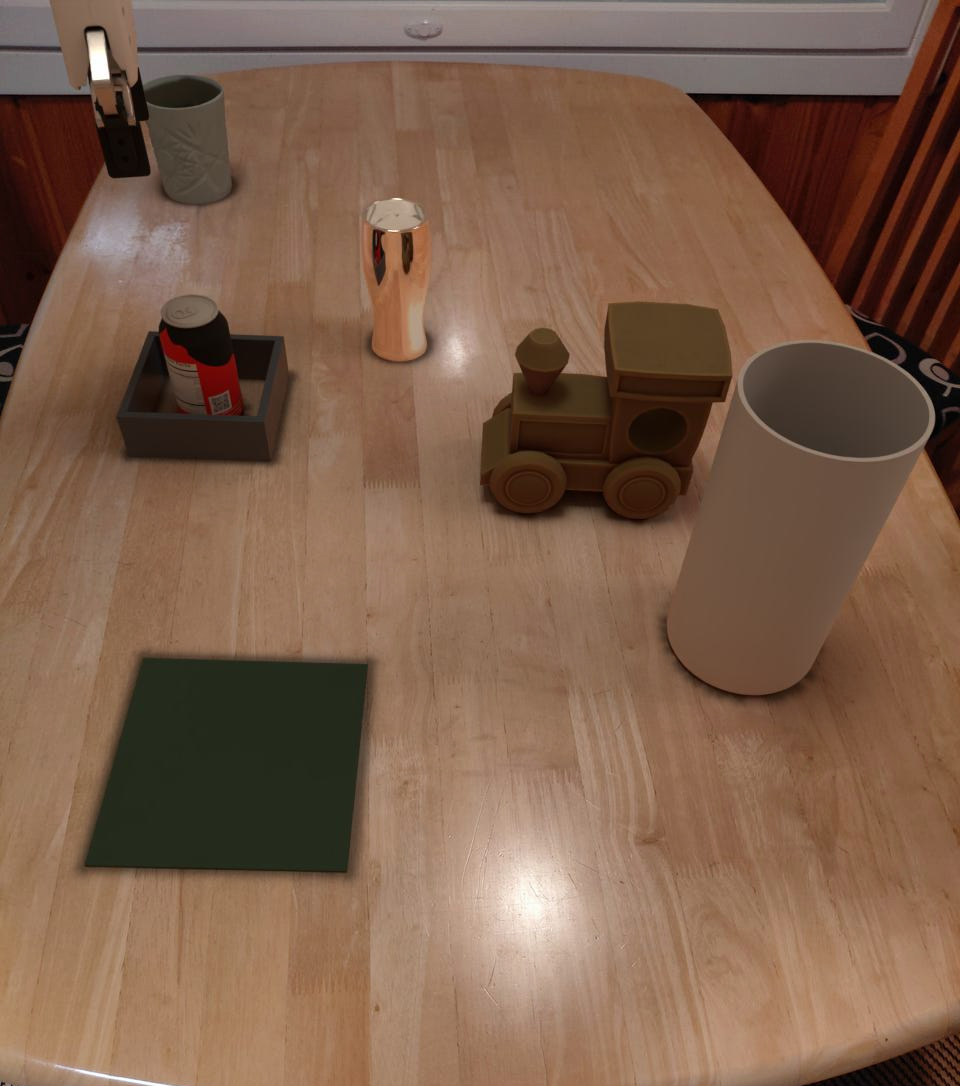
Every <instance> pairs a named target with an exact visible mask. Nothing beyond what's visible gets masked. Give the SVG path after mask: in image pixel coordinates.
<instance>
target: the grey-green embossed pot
mask: <svg viewBox="0 0 960 1086" xmlns="http://www.w3.org/2000/svg"><path fill="white" fill-rule="evenodd" d="M143 88H144V93H145V98H146V102H147V107H148V111H149V119H148V120H147V121H144V122H145V124H146V127H147V128H148V136H149V139H150V143H151V146H152V148H153V154H154V157H155V159H156V164H157V168H158V171H159V173H160V178H161V183H162V186H163V189H164V192H165V194H166V195H167V197H168V198H170V199H171V200H173V201H175V202H177V203H180V204H186V205H206V204H211V203H215V202H217V201H221V200H222V199H224V198H226V197H227V196H228V195H229V194H230V193H231V191H232V188H233V180H232V173H231V168H230V150H229V138H228V133H227V132H228V131H227V125H226V123H227V121H226V120H227V119H226V104H225V89H224V87H223V85H222V84H221V82H218V81H217V80H216V79H213V78H210V77H208V76H203V75H197V74H172V75H165V76H160V77H157V78H154V79H151V80H149V81H147V82H145V83H144V84H143Z"/></svg>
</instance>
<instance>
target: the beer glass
mask: <svg viewBox="0 0 960 1086" xmlns="http://www.w3.org/2000/svg"><path fill="white" fill-rule="evenodd" d="M429 215H430V214H429V210H428V209H427V207H425V205H423V204H422V203H420V202H418V201H416V200H413V199H411V198H405V197H383V198H379V199H376V200H373V201H371V202H369V203H368V204H366V205H365V206H364V207H363V208H362V211H361V234H360V235H361V236H360V237H361V240H360V244H361V245H360V246H361V260H362V261H361V262H362V270H363V274H364V281H365V284H366V288H367V292H368V296H369V301H370V305H371V308H372V313H373V331H372V337H371V349H372V351H373V353H374V354H376V355H377V356H378V357H379V358H380V359H381V358H382V359H384V360H386V361H390V362H409V361H412V360H416V359H417V358H419V357H421V356H423V354H425V352H426V351H427V348H428V340H427V336H426V331H425V325H424V310H425V303H426V298H427V293H428V287H429V282H430V275H431V267H432V265H431V264H432V247H431V246H432V245H431V230H430V220H429V219H430V218H429Z"/></svg>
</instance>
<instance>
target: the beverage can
mask: <svg viewBox="0 0 960 1086" xmlns="http://www.w3.org/2000/svg"><path fill="white" fill-rule="evenodd" d="M160 315H161V318H160V322H159V323H158V332H159V336H160V340H161V344H162V348H163V352H164V356H165V360H166V364H167V368H168V372H169V376H168V377H169V379H170V383H171V387H172V391H173V395H174V398H175V402H176V406H177V410H178V414H206V415H234V416H241V414H242V412H243V409H244V401H243V394H242V391H241V385H240V380H239V379H238V374H237V368H236V363H235V358H234V352H233V347H232V342H231V337H230V334H231V333H230V331H231V330H230V327H229V322H228V320H227V318H226V316H225V315H224V314H223V313H222V312H221V310H220V309H219V305H218V302H216V301H215V300H214V299H213V298H211V297H209V296H206V295H204V294H196V293H195V294H193V293H192V294H182V295H179V296H176V297H173V298H171V299H169V300H168V301H166V302H165V303H164V304H163V305H162V307H161V309H160Z"/></svg>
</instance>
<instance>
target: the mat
mask: <svg viewBox="0 0 960 1086" xmlns="http://www.w3.org/2000/svg"><path fill="white" fill-rule="evenodd" d="M367 676H368V664H367V663H344V662H339V663H338V662H308V661H307V662H305V661H275V660H273V661H272V660H271V661H270V660H241V659H240V660H238V659H237V660H236V659H232V660H231V659H204V658H202V659H201V658H199V659H198V658H171V657H170V658H169V657H167V658H166V657H143V658H142V661H141V663H140V667H139V671H138V675H137V678H136V682H135V685H134V688H133V692H132V696H131V699H130V703H129V705H128V706H129V707H128V710H127V713H126V717H125V720H124V724H123V727H122V731H121V734H120V738H119V741H118V744H117V748H116V751H115V756H114V760H113V763H112V766H111V770H110V773H109V777H108V780H107V784H106V788H105V791H104V794H103V798H102V801H101V805H100V809H99V812H98V816H97V819H96V823H95V826H94V830H93V833H92V837H91V840H90V844H89V846H88V847H89V848H88V851H87V855H86V858H85V862H84V867H89V868H92V867H93V868H129V869H131V868H133V869H134V868H137V869H144V868H145V869H178V870H179V869H181V870H182V869H183V870H219V871H220V870H221V871H222V870H226V871H264V872H271V871H273V872H306V873H307V872H308V873H309V872H310V873H312V872H314V873H348V865H349V856H350V847H351V838H352V837H351V836H352V828H353V827H352V826H353V825H352V824H353V816H354V805H355V796H356V787H357V776H358V767H359V757H360V756H359V754H360V746H361V745H360V743H361V735H362V727H363V726H362V723H363V716H364V715H363V714H364V706H365V697H366V696H365V695H366V685H367V684H366V683H367Z"/></svg>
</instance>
